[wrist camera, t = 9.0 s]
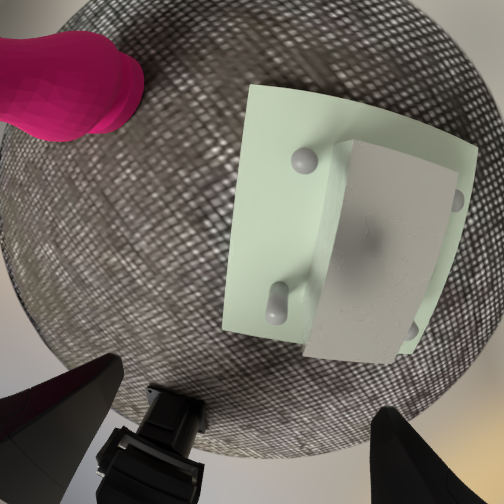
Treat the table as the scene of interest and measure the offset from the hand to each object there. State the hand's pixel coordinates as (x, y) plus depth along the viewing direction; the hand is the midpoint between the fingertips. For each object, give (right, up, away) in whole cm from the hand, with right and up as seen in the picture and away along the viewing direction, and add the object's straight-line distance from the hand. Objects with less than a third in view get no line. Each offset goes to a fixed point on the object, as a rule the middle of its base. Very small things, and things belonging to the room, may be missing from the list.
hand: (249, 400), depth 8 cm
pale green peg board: (+7, +6, +9) cm, 12 cm away
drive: (+6, +6, +8) cm, 11 cm away
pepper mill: (-10, +16, +8) cm, 21 cm away
